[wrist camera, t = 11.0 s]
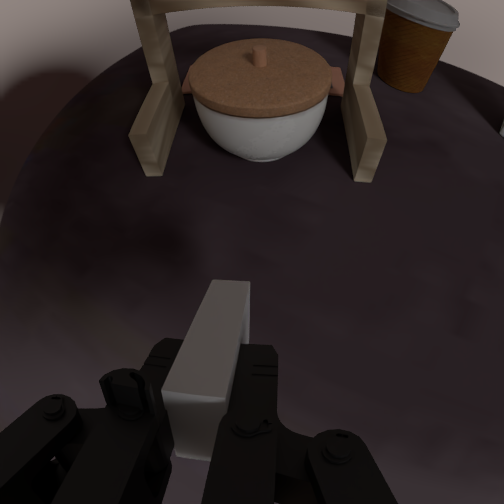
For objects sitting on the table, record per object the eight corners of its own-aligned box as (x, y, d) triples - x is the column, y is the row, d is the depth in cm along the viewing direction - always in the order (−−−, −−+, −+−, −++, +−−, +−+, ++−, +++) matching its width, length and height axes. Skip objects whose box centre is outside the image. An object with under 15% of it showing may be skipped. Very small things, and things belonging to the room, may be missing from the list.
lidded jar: (340, 169, 26) (362, 77, 18) (214, 196, 25) (193, 101, 17) (297, 96, 31) (302, 17, 22) (195, 115, 30) (178, 34, 22)
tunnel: (354, 108, 30) (378, -19, 17) (371, 182, 25) (423, 26, 12) (171, 105, 31) (141, -18, 18) (146, 176, 27) (86, 29, 14)
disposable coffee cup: (355, 57, 35) (367, -22, 24) (416, 64, 35) (435, -7, 24) (379, 98, 31) (402, 4, 20) (447, 105, 31) (478, 25, 20)
